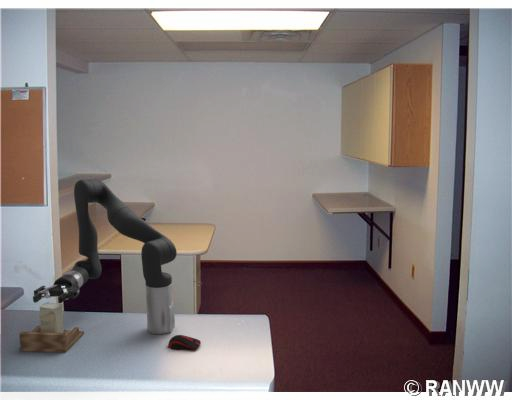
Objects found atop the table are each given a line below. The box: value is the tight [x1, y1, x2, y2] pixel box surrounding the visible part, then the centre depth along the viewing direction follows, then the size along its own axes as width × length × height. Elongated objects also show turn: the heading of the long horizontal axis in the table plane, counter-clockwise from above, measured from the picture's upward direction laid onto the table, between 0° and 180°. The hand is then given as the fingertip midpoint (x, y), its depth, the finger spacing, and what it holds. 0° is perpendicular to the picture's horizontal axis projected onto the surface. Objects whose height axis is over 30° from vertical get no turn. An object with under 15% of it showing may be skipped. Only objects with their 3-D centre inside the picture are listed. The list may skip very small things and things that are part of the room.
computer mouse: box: [167, 334, 201, 351], centre depth 167 cm, size 6×11×4 cm, turn 82°
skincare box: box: [39, 302, 64, 333], centre depth 170 cm, size 6×4×12 cm
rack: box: [18, 325, 85, 353], centre depth 170 cm, size 16×14×6 cm
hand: (46, 300), depth 166 cm, fingers open, 8 cm apart
